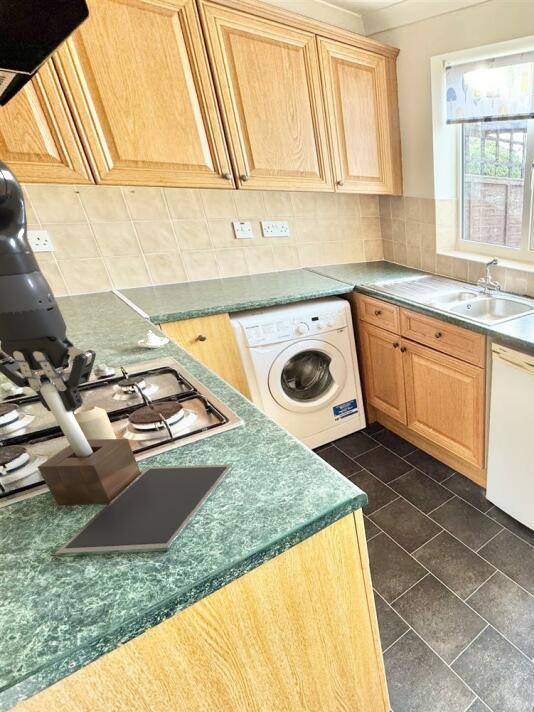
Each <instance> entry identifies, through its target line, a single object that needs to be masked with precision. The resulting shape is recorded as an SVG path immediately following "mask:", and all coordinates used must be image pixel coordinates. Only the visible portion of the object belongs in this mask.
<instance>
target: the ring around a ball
mask: <svg viewBox="0 0 534 712" xmlns="http://www.w3.org/2000/svg"><path fill="white" fill-rule="evenodd" d="M168 342H169V338H167V337H162V336H157V335H155V333H153V331H152V330H147V333H146V336H145V338H143V339H140V340H138V341H137V342H136V346H138V347H140V348H148V349H157V348H160V347H161V346H163V345H166V344H167V343H168Z"/></svg>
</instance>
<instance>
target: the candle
mask: <svg viewBox="0 0 534 712" xmlns="http://www.w3.org/2000/svg"><path fill="white" fill-rule="evenodd" d="M72 413H73V415H74V417H75V419H76V421H77V423H78V425H79V427H80V428H81V430H82V432H83V434H84V436H85V438H86V440H93V439H118V438H117V436H116V433H115V430H114V429H113V426H112V423H111V421H110V419H109V416H108V413H107V411H106V410H105V409H104V408H102V407H98V406H95V405H93V406H90V405H87V404H84V405H83V404H82V405H81V407H79V408H78V409H76V410H74V411H72Z"/></svg>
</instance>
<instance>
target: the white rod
mask: <svg viewBox="0 0 534 712" xmlns="http://www.w3.org/2000/svg"><path fill="white" fill-rule="evenodd" d="M58 391H59V390H58V389H57V387H56V385H55V384H54V383H53V384H51V383H49V384H45V385H43V386H42V387H41V388H40V392H41V394H42V395H43V397H44V399H45V401H46V402H47V404H48V406H49V408H50V410H51V411H50V412H51V413H52V415H53V417H54V419H55V420H56V422H57V424H58V426H59V427H60V429H61V431H62V433H63V434H64V435H63V436H65V438H66V440H67V442H68V444H69V445H71V447H72V449H73V451H74V452H75V454H76V456H77V458H81V457H90V456H91V455H92V454H94V453H93V451H92V449H91V447H90V445H89V443H88V442H87V440H86V438H85V436H84V434H83V432H82V430H81V428H80V427H79V425H78V423H77V421H76V419H75V417H74V415H73V411H66V409H65V407H64V404H63V402H62V400H61V398H60V395H59V393H58Z"/></svg>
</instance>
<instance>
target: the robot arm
mask: <svg viewBox="0 0 534 712" xmlns="http://www.w3.org/2000/svg"><path fill="white" fill-rule="evenodd" d="M25 201H26V200H25V197H24V192H23V189H22V186H21V183H20V182H19V179H18V177H17V176H16V175H15V173H14V172H13V171H12V169H11V168H10V167H9V166H8V165H7V164H6V163H5V162H4V161H3V160H2V159H0V373H1V374H2V375H4V377H6V378H7V379H8V380H9V381H10V382H11V383H13V384H14V385H15V386H17V388H29V389H31V390H32V391H34V392H36V394H37V397H38V398H39V400H40V402H41V405H42V406H43V407H44V408H45V409H46V410H47V411H48V412H52V411H51V410H50V408H49V406H48V404H47V402H46V401H45V399H44V397H43V395H42V394H41V392H40V388H41V387H42V386H43V385H45V384H49V383H51V384H55V385H56V387H57V389H58V390H59V391H58V393H59V395H60V398H61V400H62V402H63V404H64V407H65V409H66V411H71V412H74V411H75V410H76V409H78V408H79V407H81V406H83V403H84V401H83V398H82V396H81V393H80V391H79V388H78V387H79V386H80V385H82V384H84V383H86V382H88V381H89V380H90V378H91V374H92V371H93V366H94V363H95V360H96V356H97V354H96V352H95V351H94V350H92V349H88V350H82V349H80V348H77V347H75V346H74V342H72V340H70V339H69V338H68V337H67V334H66V332H67V329H68V327H67V324H66V322H65V319H64V317H63V315H62V312H61V310H60V306H59V305H58V302H57V300H56V298H55V295H54V293H53V290H52V287H51V285H50V284H49V282H48V280H47V278H46V276H45V275H44V273H43V272H42V270H41V267H40V265H39V262H38V260H37V258H36V255H35V253H34V250H33V248H32V245H31V244H30V241H29V238H28V220H27V211H26V203H25ZM17 372H18V373H17ZM20 374H21V375H20Z"/></svg>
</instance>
